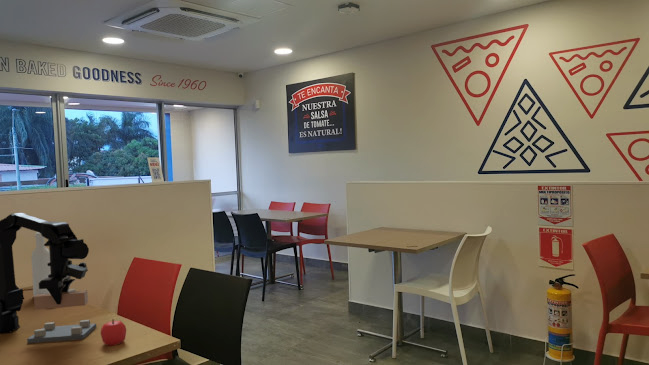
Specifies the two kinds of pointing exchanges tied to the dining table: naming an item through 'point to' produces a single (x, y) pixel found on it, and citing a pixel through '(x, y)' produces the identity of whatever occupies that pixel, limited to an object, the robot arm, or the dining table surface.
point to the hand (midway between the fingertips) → (61, 302)
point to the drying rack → (62, 332)
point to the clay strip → (67, 300)
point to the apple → (113, 332)
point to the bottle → (40, 264)
